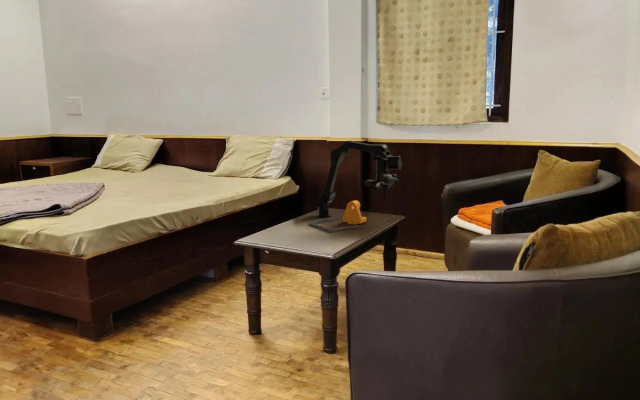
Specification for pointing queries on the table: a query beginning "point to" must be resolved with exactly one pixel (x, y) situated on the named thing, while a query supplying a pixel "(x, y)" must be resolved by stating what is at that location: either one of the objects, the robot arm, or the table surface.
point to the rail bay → (329, 229)
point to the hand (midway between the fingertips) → (381, 197)
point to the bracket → (353, 213)
